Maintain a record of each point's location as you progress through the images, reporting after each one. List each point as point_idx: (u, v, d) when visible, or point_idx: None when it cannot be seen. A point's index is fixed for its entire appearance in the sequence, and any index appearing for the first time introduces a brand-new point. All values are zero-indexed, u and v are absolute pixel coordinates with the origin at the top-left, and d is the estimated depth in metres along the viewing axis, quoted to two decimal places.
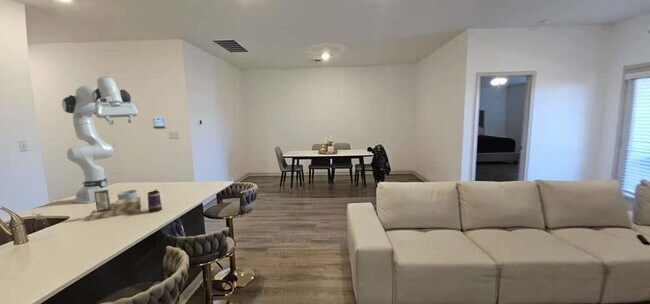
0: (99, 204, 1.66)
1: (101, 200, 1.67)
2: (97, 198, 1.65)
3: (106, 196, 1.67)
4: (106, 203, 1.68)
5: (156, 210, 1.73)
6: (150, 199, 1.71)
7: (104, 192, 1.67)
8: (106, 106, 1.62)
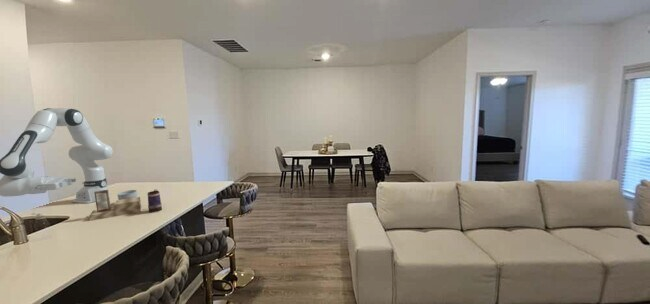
0: (99, 204, 1.66)
1: (101, 200, 1.67)
2: (97, 198, 1.65)
3: (106, 196, 1.67)
4: (106, 203, 1.68)
5: (156, 210, 1.73)
6: (150, 199, 1.71)
7: (104, 192, 1.67)
8: None
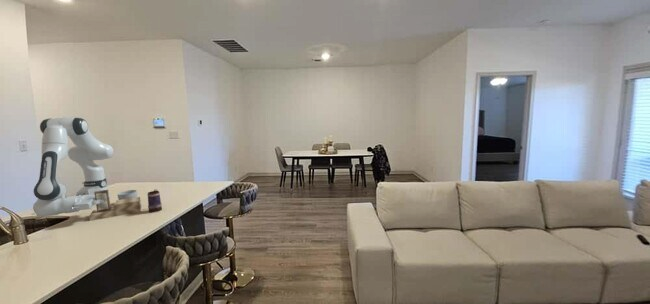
0: (99, 204, 1.66)
1: None
2: (97, 198, 1.65)
3: (106, 196, 1.67)
4: (106, 203, 1.68)
5: (156, 210, 1.73)
6: (150, 199, 1.71)
7: (104, 192, 1.67)
8: None
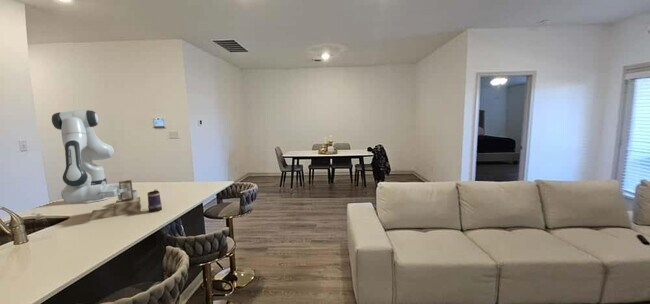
0: (123, 194, 1.72)
1: None
2: (121, 188, 1.71)
3: (130, 186, 1.73)
4: (130, 193, 1.73)
5: (156, 210, 1.73)
6: (150, 199, 1.71)
7: (128, 182, 1.73)
8: None
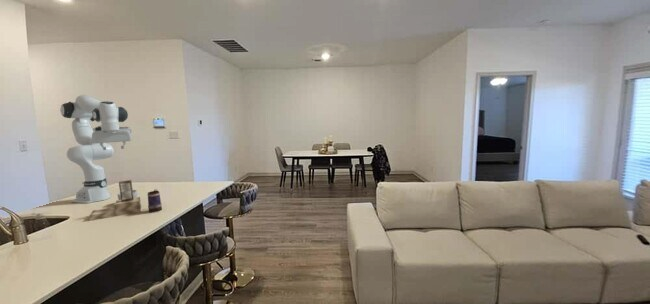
0: (123, 194, 1.72)
1: (125, 190, 1.72)
2: (121, 188, 1.71)
3: (130, 186, 1.73)
4: (130, 193, 1.73)
5: (156, 210, 1.73)
6: (150, 199, 1.71)
7: (128, 182, 1.72)
8: (101, 134, 1.77)
